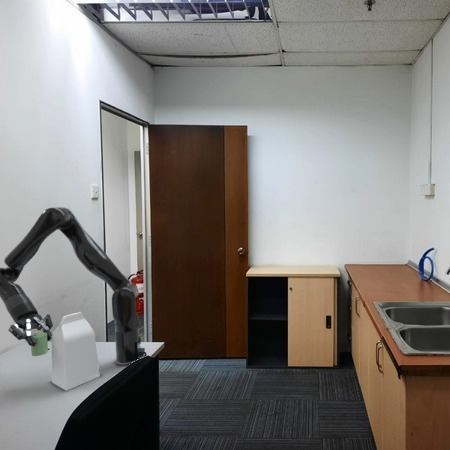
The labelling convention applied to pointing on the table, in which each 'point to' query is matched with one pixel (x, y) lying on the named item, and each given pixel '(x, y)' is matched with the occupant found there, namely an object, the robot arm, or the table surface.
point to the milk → (74, 352)
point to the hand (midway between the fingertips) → (42, 342)
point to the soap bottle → (40, 343)
